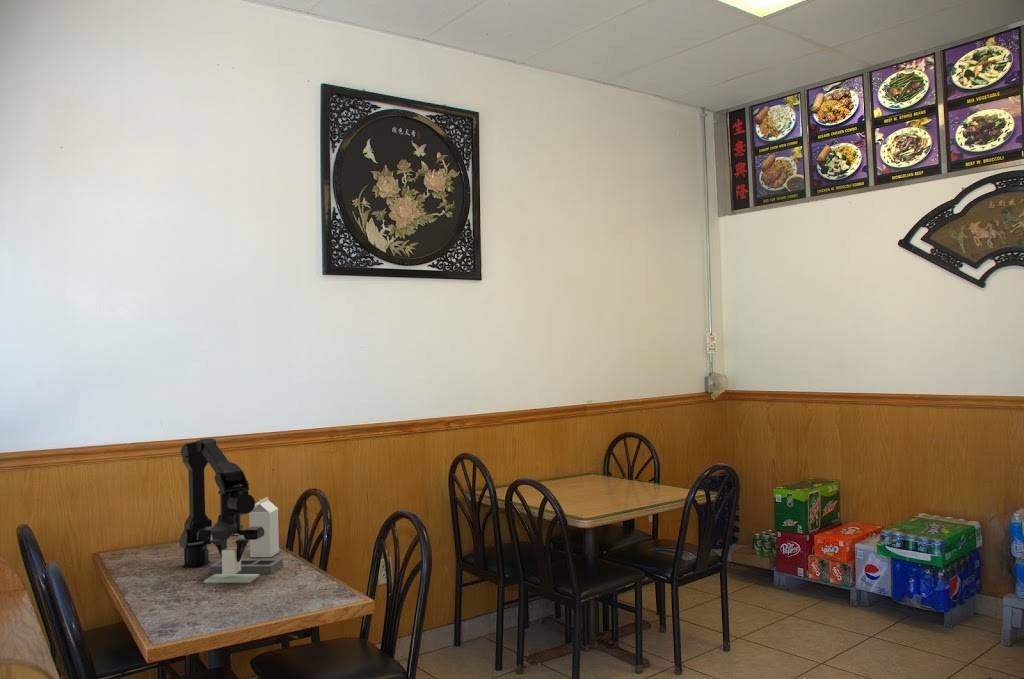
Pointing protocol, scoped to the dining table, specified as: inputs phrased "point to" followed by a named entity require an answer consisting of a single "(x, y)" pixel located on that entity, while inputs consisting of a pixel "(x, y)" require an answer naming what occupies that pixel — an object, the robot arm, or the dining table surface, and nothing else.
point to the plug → (230, 561)
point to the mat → (231, 578)
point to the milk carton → (265, 529)
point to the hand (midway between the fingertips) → (231, 561)
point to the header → (251, 566)
